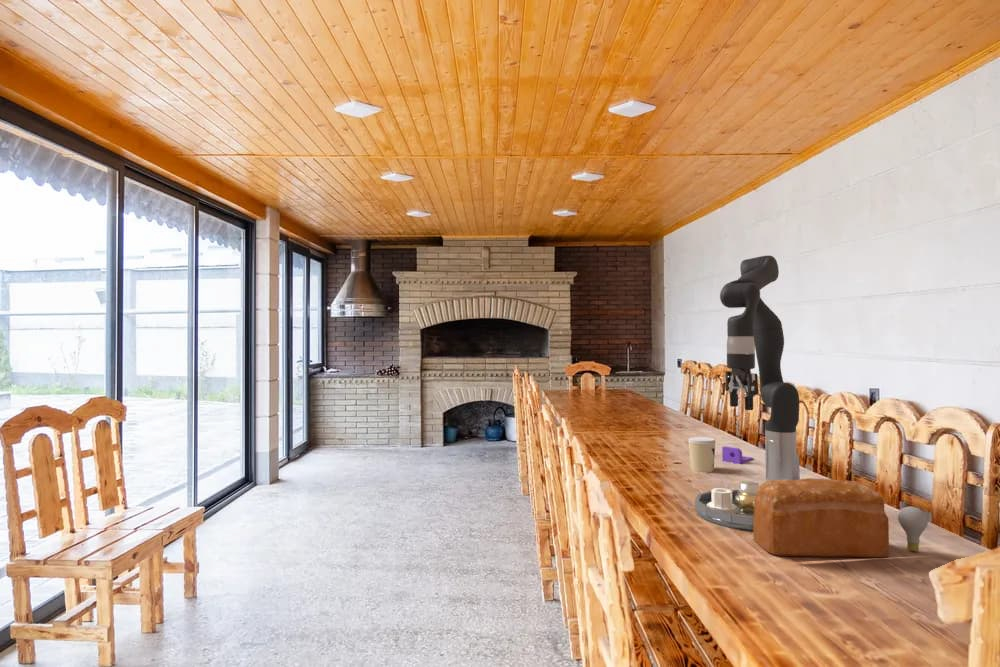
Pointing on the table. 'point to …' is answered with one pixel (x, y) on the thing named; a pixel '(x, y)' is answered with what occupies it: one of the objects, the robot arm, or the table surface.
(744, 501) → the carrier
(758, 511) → the bread
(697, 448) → the coffee cup
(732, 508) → the white faceted ring
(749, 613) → the table surface
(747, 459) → the bracket
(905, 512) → the light bulb
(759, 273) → the robot arm
